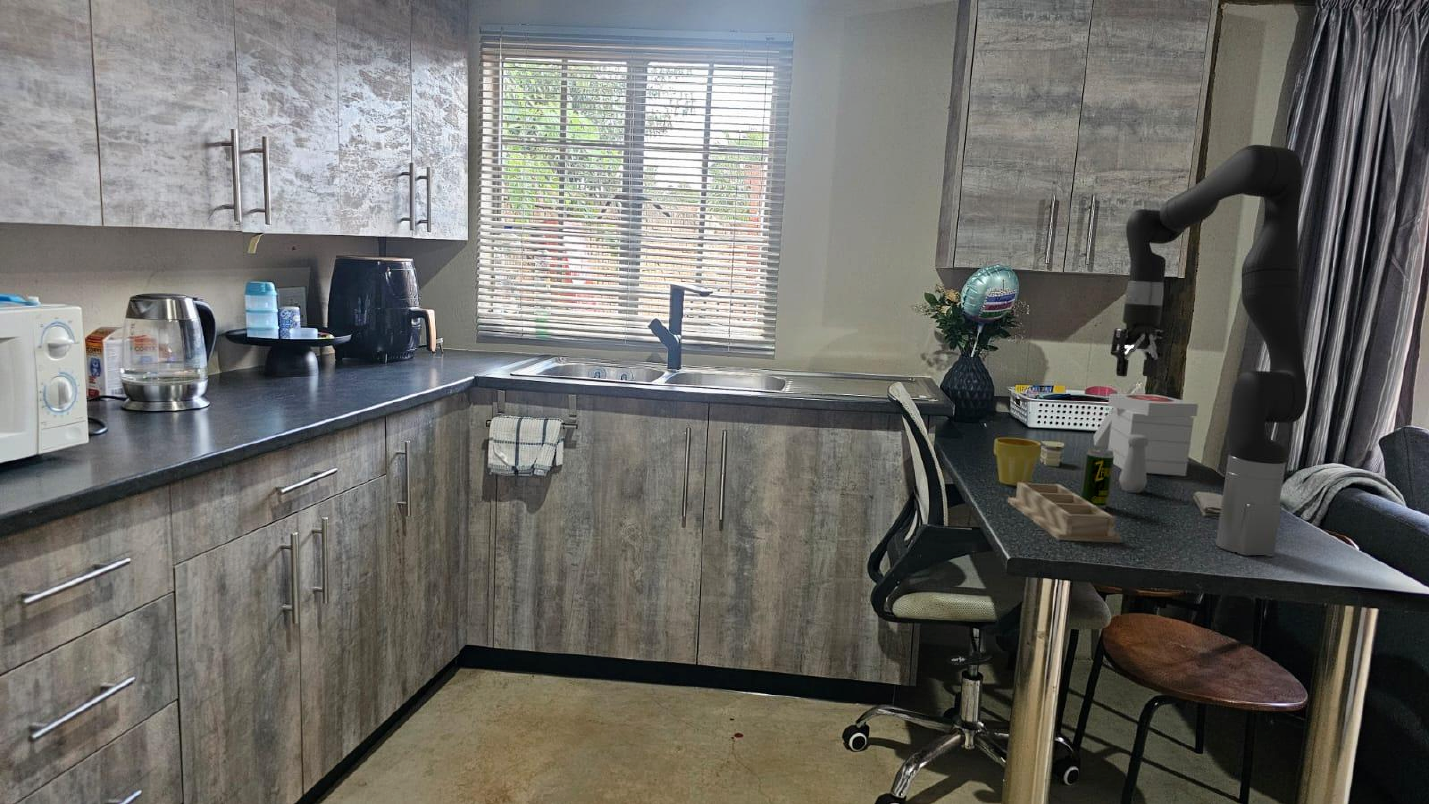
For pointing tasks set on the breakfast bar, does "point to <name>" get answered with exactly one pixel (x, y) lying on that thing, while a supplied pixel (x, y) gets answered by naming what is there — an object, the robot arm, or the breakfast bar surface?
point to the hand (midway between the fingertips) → (1134, 376)
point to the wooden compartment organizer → (1064, 513)
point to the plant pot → (1016, 459)
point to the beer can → (1097, 477)
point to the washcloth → (1209, 503)
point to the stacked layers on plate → (1051, 453)
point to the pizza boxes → (1149, 430)
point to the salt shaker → (1134, 465)
